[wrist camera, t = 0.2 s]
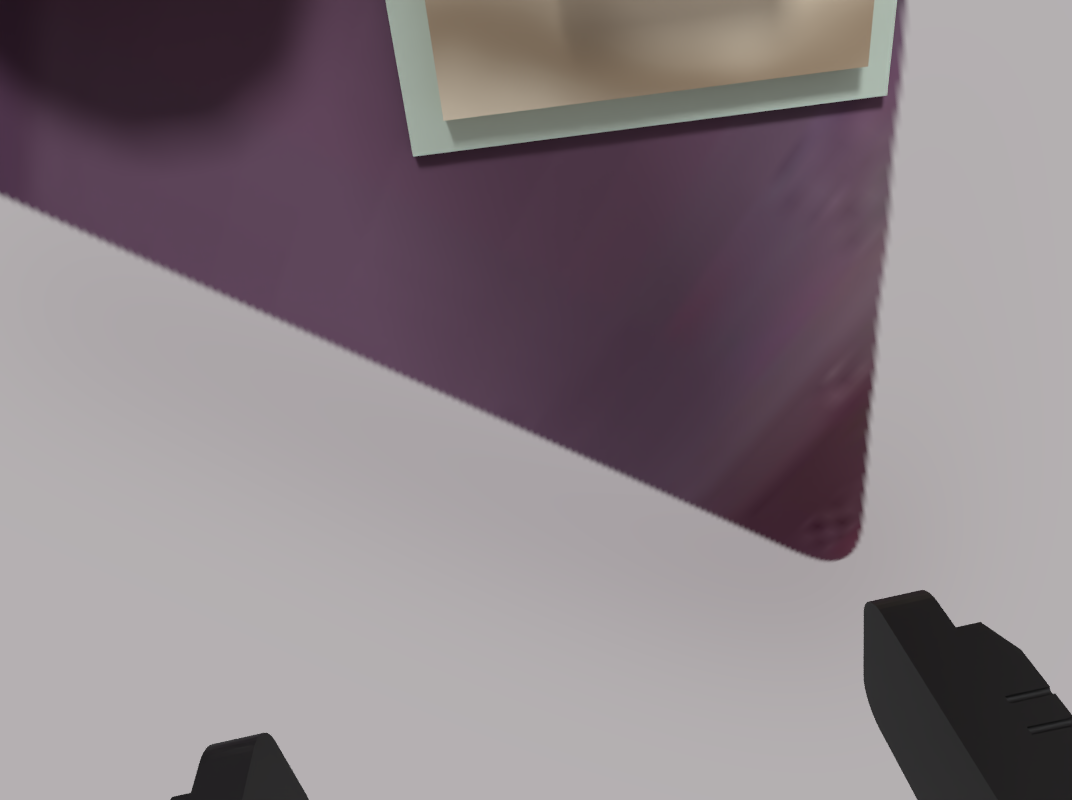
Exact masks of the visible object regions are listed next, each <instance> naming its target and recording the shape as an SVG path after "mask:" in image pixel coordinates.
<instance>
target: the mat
mask: <svg viewBox="0 0 1072 800" xmlns="http://www.w3.org/2000/svg"><path fill="white" fill-rule="evenodd" d="M385 1H386V6H387V12H388V18H389V23H390V29H391V35H392V40H393V46H394V51H395V57H396V63H397V68H398V74H399V80H400V85H401V91H402V97H403V102H404V108H405V113H406V119H407V125H408V130H409V136H410V142H411V147H412V153H413V157H415V156H423V155H430V154H438V153H446V152H454V151H461V150H469V149H477V148H485V147H492V146H500V145H508V144H515V143H523V142H531V141H539V140H546V139H554V138H562V137H569V136H577V135H585V134H593V133H600V132H608V131H616V130H623V129H631V128H639V127H647V126H654V125H662V124H670V123H678V122H685V121H693V120H701V119H708V118H716V117H724V116H732V115H739V114H747V113H755V112H762V111H770V110H778V109H786V108H793V107H801V106H809V105H817V104H824V103H832V102H840V101H847V100H855V99H863V98H871V97H878V96H886V95H887V91H888V81H889V72H890V62H891V53H892V44H893V34H894V25H895V16H896V6H897V0H874V10H873V21H872V31H871V42H870V53H869V63H868V67H860V68H852V69H845V70H837V71H829V72H821V73H814V74H806V75H798V76H790V77H782V78H775V79H767V80H759V81H751V82H743V83H736V84H728V85H720V86H712V87H704V88H697V89H689V90H681V91H673V92H665V93H658V94H650V95H642V96H634V97H626V98H619V99H611V100H603V101H595V102H588V103H580V104H572V105H564V106H556V107H549V108H541V109H533V110H525V111H517V112H510V113H502V114H494V115H486V116H478V117H471V118H463V119H455V120H447V121H443V114H442V108H441V101H440V95H439V88H438V82H437V76H436V69H435V63H434V56H433V50H432V43H431V37H430V31H429V24H428V18H427V11H426V5H425V0H385Z"/></svg>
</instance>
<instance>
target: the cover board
mask: <svg viewBox="0 0 1072 800" xmlns="http://www.w3.org/2000/svg"><path fill="white" fill-rule="evenodd" d="M425 5H426V11H427V18H428V24H429V31H430V37H431V43H432V50H433V56H434V63H435V69H436V76H437V82H438V88H439V95H440V101H441V108H442V114H443V121H447V120H455V119H463V118H471V117H478V116H486V115H494V114H502V113H510V112H517V111H525V110H533V109H541V108H549V107H556V106H564V105H572V104H580V103H588V102H595V101H603V100H611V99H619V98H626V97H634V96H642V95H650V94H658V93H665V92H673V91H681V90H689V89H697V88H704V87H712V86H720V85H728V84H736V83H743V82H751V81H759V80H767V79H775V78H782V77H790V76H798V75H806V74H814V73H821V72H829V71H837V70H845V69H852V68H860V67H868V63H869V53H870V42H871V31H872V21H873V10H874V0H425Z"/></svg>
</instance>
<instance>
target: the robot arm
mask: <svg viewBox="0 0 1072 800" xmlns="http://www.w3.org/2000/svg"><path fill="white" fill-rule="evenodd" d="M864 684H865V690H866V694H867V698H868V701H869V704H870V707H871V710H872V713H873V715H874V718H875V720H876V722H877V724H878V726H879V728H880V730H881V732H882V734H883V736H884V738H885V740H886V742H887V743H888V745H889V747H890V749H891V751H892V753H893V754H894V756H895V758H896V760H897V762H898V764H899V766H900V768H901V770H902V772H903V773H904V775H905V777H906V779H907V781H908V783H909V784H910V787H911V788H912V790H913V792H914V794H915V796H916V798H917V799H918V800H1072V715H1071V713H1070V712H1069V711H1068V709H1067V708H1066V707H1065V706H1064V704H1063V703H1062V702H1061V700H1060V699H1059V698H1058V697H1057V695H1056V694H1052V693H1051V691H1050V686H1049V685H1048V684H1047V682H1046V681H1045V680H1044V679H1043V677H1042V676H1041V675H1040V674H1039V672H1038V671H1037V670H1036V669H1035V667H1034V666H1033V665H1032V663H1031V662H1030V661H1029V659H1028V658H1027V657H1026V656H1025V654H1024V653H1023V652H1022V651H1021V650H1020V649H1019V648H1018V647H1016V646H1015V645H1013V644H1012V643H1010V642H1009V641H1007V640H1006V639H1004V638H1003V637H1001V636H1000V635H998V634H997V633H996V632H994V631H993V630H991V629H990V628H988V627H987V626H985V625H984V624H982V623H981V622H979V623H975V624H970V625H965V626H961V627H955V626H954V625H953V623H952V622H951V620H950V619H949V617H948V616H947V615H946V613H945V612H944V611H943V609H942V608H941V607H940V605H939V603H938V602H937V601H936V600H935V598H934V597H933V596H932V595H931V594H930V593H928V592H927V591H925V590H920V591H916V592H911V593H907V594H902V595H898V596H893V597H888V598H884V599H879V600H875V601H870V602H867V603H866V604H865V607H864ZM171 800H309V799H308V797H307V795H306V793H305V792H304V790H303V788H302V786H301V785H300V783H299V782H298V780H297V778H296V776H295V774H294V773H293V771H292V769H291V768H290V766H289V764H288V762H287V761H286V759H285V758H284V756H283V754H282V752H281V750H280V749H279V747H278V745H277V743H276V742H275V740H274V739H273V737H272V736H271V735H270V734H268V733H261V734H257V735H253V736H248V737H244V738H239V739H234V740H230V741H225V742H221V743H216V744H212V745H210V746H208V747H207V748H206V750H205V751H204V753H203V755H202V757H201V760H200V763H199V767H198V770H197V774H196V777H195V781H194V785H193V788H192V791H191V793H189V794H184V795H180V796H175V797H172V798H171Z"/></svg>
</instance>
